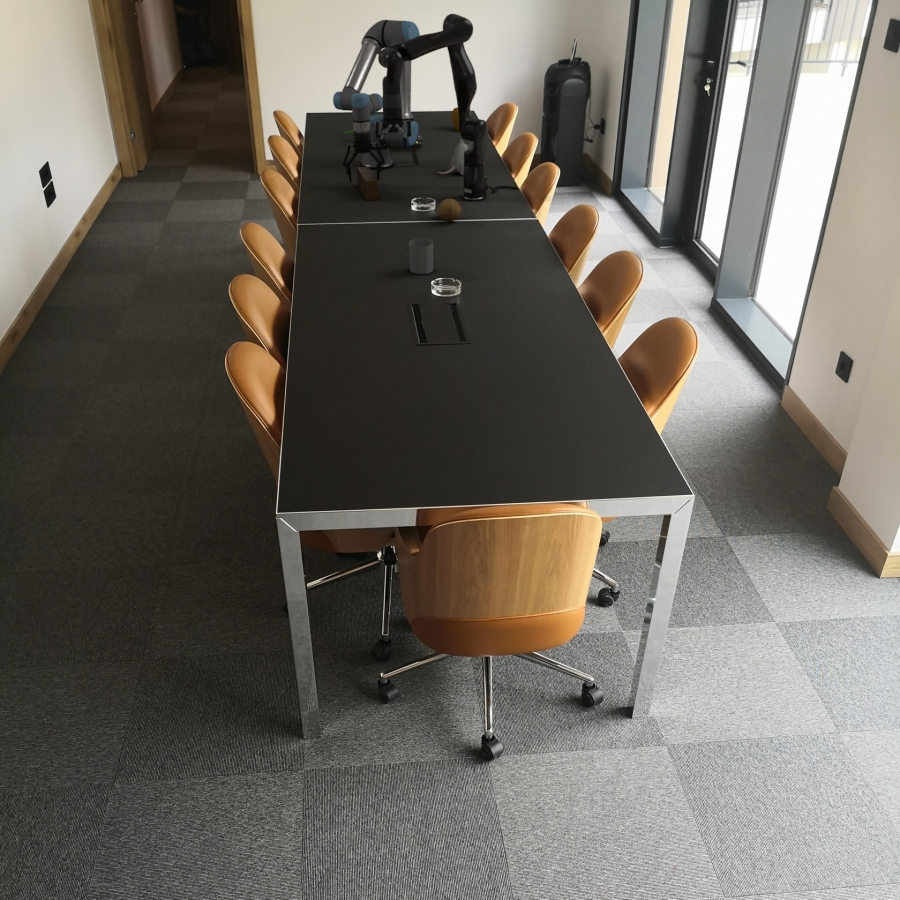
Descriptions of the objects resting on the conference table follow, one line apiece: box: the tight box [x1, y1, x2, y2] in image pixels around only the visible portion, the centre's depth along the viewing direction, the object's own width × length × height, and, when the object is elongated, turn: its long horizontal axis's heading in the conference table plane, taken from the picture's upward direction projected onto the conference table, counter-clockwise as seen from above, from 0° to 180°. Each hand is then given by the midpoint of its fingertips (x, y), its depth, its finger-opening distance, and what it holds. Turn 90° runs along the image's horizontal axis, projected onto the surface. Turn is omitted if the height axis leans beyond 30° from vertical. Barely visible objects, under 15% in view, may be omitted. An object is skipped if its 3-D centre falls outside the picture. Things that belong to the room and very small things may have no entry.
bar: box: [356, 166, 380, 201], centre depth 386 cm, size 24×5×8 cm, turn 14°
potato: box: [437, 198, 462, 222], centre depth 353 cm, size 10×14×8 cm
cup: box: [408, 237, 434, 275], centre depth 305 cm, size 8×8×10 cm
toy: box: [437, 138, 472, 176], centre depth 408 cm, size 9×24×15 cm, turn 137°
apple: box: [451, 106, 472, 132], centre depth 487 cm, size 11×11×13 cm
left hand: (364, 180), depth 393 cm, fingers open, 12 cm apart
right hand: (393, 148), depth 344 cm, fingers open, 8 cm apart
